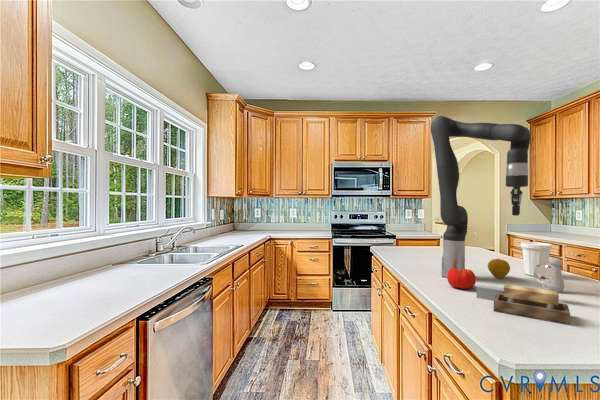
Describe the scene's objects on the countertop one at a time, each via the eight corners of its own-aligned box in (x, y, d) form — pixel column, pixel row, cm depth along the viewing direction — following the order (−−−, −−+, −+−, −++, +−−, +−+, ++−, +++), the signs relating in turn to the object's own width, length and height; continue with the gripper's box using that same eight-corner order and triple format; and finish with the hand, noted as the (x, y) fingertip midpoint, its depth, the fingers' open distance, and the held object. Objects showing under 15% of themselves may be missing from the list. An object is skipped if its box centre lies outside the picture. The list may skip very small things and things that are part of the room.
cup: (558, 278, 149) (559, 245, 149) (531, 278, 149) (532, 245, 149) (539, 272, 162) (539, 241, 161) (514, 272, 162) (514, 241, 162)
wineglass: (549, 297, 119) (550, 265, 119) (556, 302, 114) (556, 268, 114) (531, 296, 121) (531, 264, 121) (537, 300, 116) (537, 267, 116)
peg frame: (493, 311, 104) (493, 297, 104) (496, 303, 113) (496, 290, 112) (570, 325, 93) (570, 309, 93) (566, 315, 101) (567, 300, 101)
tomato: (447, 289, 129) (448, 270, 129) (446, 282, 140) (446, 265, 140) (477, 292, 126) (478, 273, 125) (474, 285, 136) (474, 267, 136)
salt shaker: (567, 293, 125) (568, 260, 125) (550, 292, 126) (551, 259, 126) (558, 289, 131) (559, 257, 131) (542, 288, 132) (543, 256, 132)
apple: (488, 274, 156) (488, 255, 156) (510, 277, 151) (510, 258, 151) (486, 278, 149) (486, 258, 149) (509, 281, 143) (509, 261, 143)
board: (503, 296, 105) (503, 287, 105) (504, 293, 109) (504, 284, 109) (558, 305, 97) (558, 295, 97) (557, 301, 101) (557, 291, 101)
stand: (476, 297, 119) (476, 286, 119) (477, 294, 122) (478, 284, 122) (515, 304, 112) (515, 292, 112) (516, 301, 115) (516, 289, 115)
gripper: (507, 176, 139) (506, 214, 139) (504, 174, 127) (503, 215, 127) (528, 175, 134) (527, 214, 134) (527, 173, 123) (527, 216, 123)
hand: (516, 215), depth 131 cm, fingers open, 8 cm apart
